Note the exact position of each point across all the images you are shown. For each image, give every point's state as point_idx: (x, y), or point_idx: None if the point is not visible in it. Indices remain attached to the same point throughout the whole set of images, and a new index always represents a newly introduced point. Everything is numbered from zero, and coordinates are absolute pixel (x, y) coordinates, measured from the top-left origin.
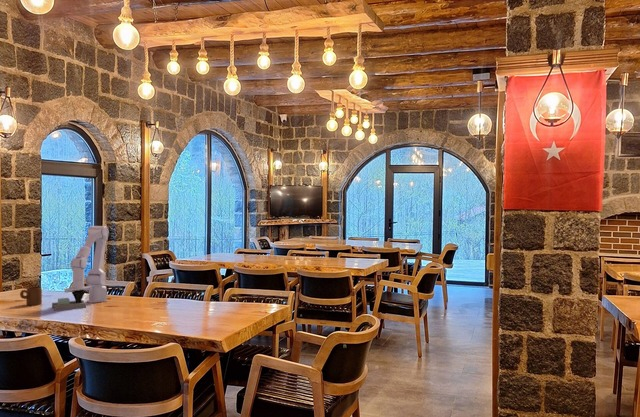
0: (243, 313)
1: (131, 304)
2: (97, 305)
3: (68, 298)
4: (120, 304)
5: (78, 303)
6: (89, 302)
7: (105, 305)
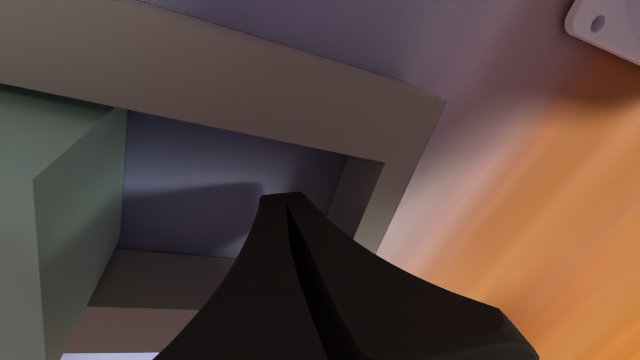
0: None
1: (611, 340)
2: (471, 249)
3: (36, 299)
4: (589, 307)
5: None
6: (569, 12)
7: (506, 287)
